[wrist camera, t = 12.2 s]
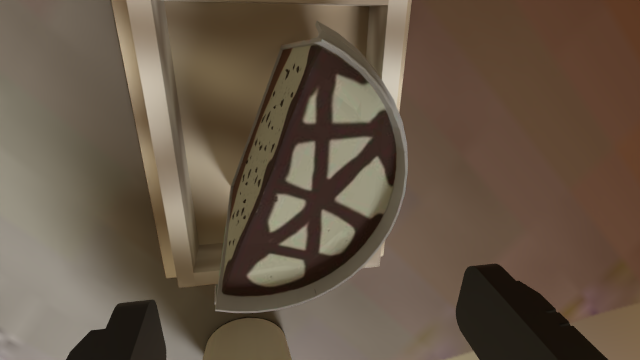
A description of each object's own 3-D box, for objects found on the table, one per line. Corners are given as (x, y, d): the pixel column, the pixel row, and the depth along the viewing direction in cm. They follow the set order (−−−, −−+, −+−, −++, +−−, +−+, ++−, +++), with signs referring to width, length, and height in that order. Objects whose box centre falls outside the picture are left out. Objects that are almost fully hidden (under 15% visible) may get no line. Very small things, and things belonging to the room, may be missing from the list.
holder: (103, -58, 18) (72, -74, 14) (412, -42, 20) (443, -52, 17) (167, 273, 26) (157, 309, 23) (380, 252, 29) (397, 281, 26)
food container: (308, 228, 26) (342, 342, 17) (223, 206, 24) (211, 320, 15) (385, 61, 22) (481, 94, 13) (291, 18, 20) (328, 21, 11)
